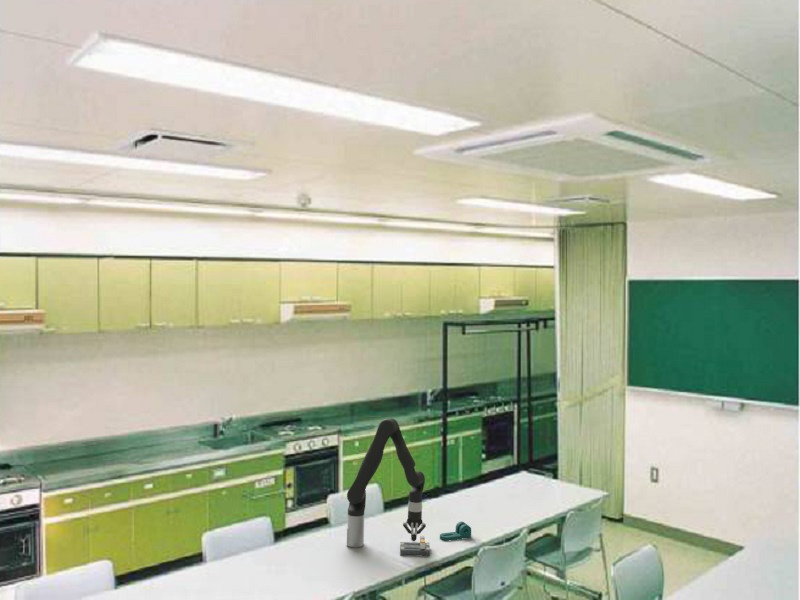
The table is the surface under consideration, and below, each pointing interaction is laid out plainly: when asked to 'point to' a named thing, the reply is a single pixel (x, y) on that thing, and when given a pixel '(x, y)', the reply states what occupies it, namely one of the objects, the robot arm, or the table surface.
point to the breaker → (422, 537)
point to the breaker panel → (414, 549)
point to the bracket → (457, 532)
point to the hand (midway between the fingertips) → (413, 540)
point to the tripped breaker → (422, 544)
